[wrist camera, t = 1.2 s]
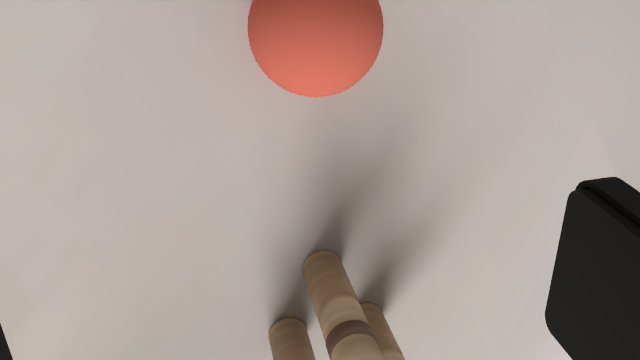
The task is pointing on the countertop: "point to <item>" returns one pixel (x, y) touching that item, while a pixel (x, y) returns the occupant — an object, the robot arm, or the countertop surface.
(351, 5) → the ball
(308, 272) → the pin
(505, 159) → the countertop surface
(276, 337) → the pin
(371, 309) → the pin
